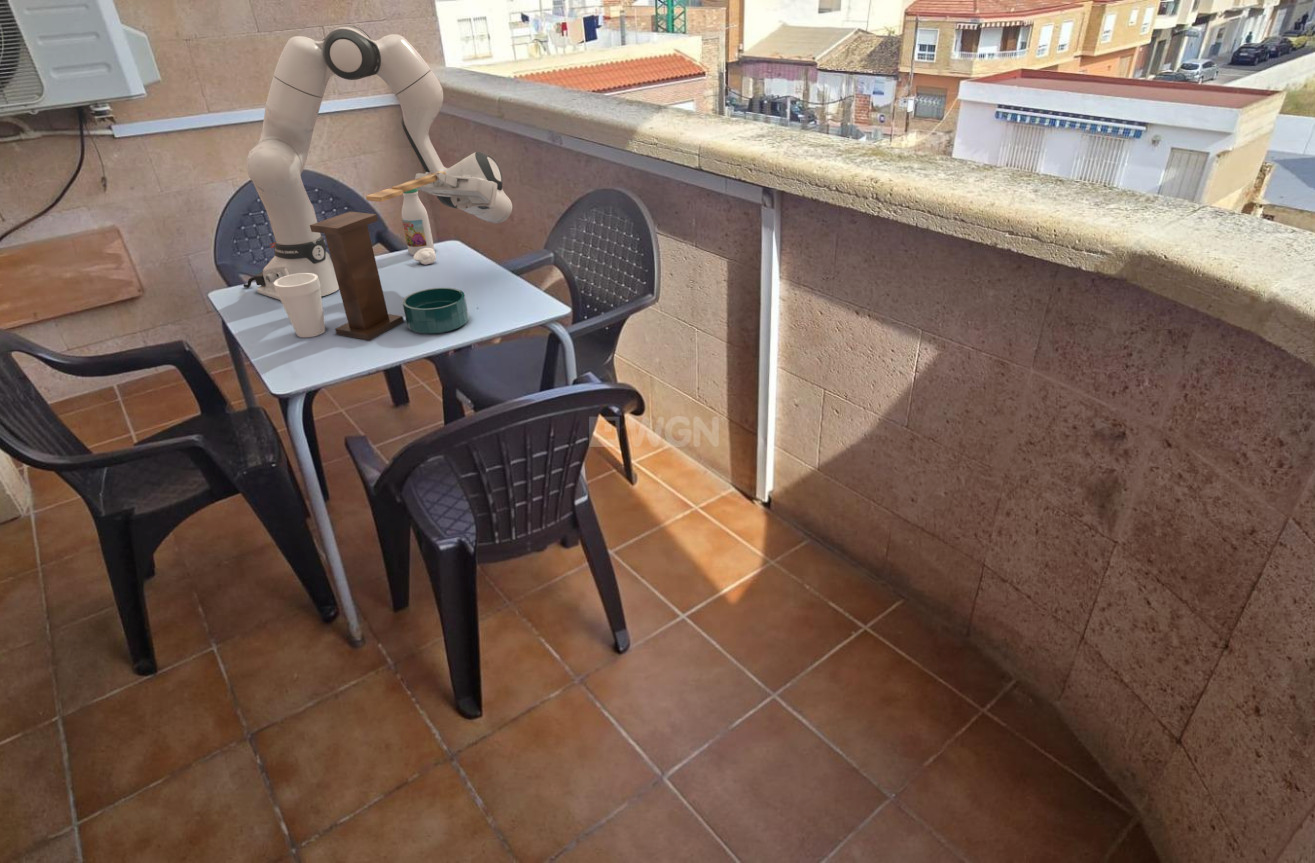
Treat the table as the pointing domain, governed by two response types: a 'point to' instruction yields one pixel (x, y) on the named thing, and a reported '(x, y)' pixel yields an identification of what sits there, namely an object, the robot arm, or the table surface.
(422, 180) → the spatula
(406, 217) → the milk bottle
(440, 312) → the bowl
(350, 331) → the wooden pedestal
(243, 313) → the table surface
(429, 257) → the white lumpy piece
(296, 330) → the foam cup
